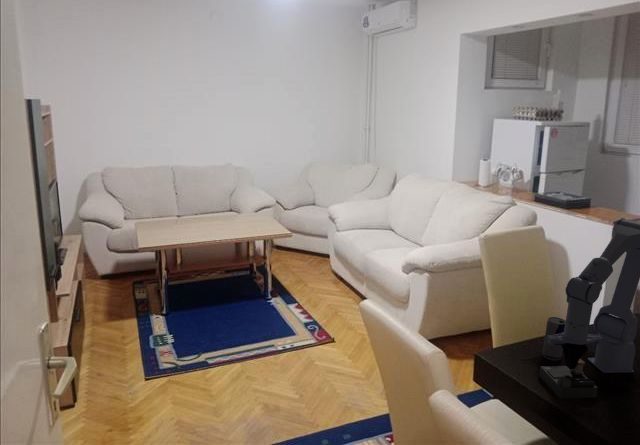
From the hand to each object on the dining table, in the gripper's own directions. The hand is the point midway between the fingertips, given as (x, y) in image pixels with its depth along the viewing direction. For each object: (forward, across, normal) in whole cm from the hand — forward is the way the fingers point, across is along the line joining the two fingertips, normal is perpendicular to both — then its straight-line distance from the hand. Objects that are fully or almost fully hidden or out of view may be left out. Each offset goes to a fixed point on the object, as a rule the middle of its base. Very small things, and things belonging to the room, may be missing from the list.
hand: (570, 367), depth 138 cm
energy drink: (+5, -4, -15) cm, 16 cm away
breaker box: (+5, +1, +1) cm, 5 cm away
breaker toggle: (+2, -2, 0) cm, 3 cm away
